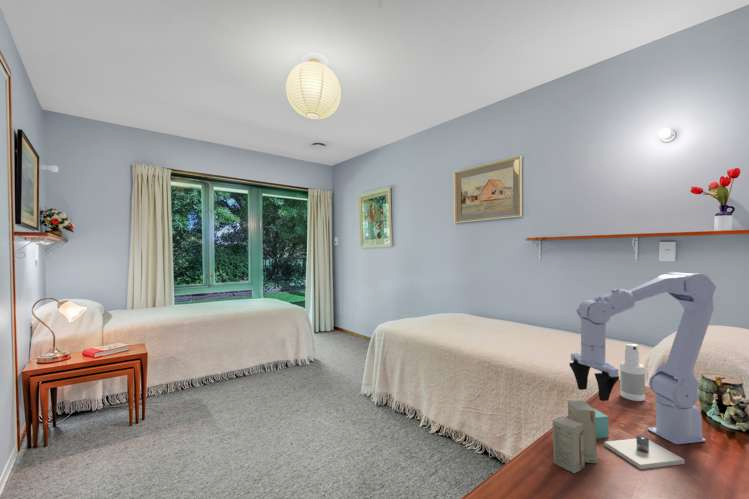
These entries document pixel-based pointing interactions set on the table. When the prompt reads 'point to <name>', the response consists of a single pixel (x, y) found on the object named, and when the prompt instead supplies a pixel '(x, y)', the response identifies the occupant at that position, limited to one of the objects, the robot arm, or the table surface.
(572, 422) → the skincare box
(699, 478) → the table surface
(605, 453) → the table surface
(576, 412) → the skincare box
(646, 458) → the post board
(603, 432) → the teal brick on tray
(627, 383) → the spray bottle
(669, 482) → the table surface
